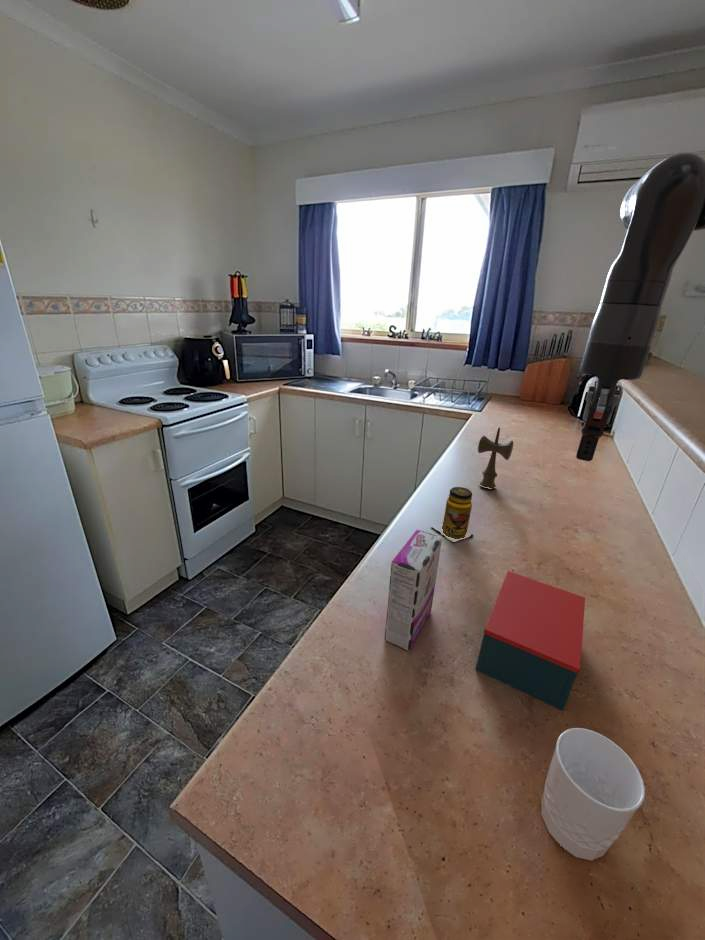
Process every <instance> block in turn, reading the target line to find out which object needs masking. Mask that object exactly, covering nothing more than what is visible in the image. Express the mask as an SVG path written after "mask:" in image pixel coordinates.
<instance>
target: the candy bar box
mask: <svg viewBox="0 0 705 940" xmlns="http://www.w3.org/2000/svg"><path fill="white" fill-rule="evenodd" d="M442 541H443V536H439V535H436V534H432V533H430V532H425V531H424V530H420V529H416V530H415V531H414V533H413V534H412V535H411V536H410V538H409V539H408V540H407V541H406V542H405V544H404V545H403V547H402V548H401V549H400V550H399V551H398V553H397V554H396V555H395V557H394V558H393V559H392V560H391V563H390V564H391V565H390V577H389V587H388V599H387V609H386V621H385V630H384V641H385V642H388V643H389V644H392V645H394V646H397V647H398V648H401V649H403V650H405V651H407V652H411V650H412V648H413V646H414V644H415V642H416V641H417V639H418V637H419V635H420V633H421V631H422V630H423V627H424V626H425V624H426V622H427V620H428V618H429V616H430V615H431V613H432V608H433V602H434V601H433V600H434V594H435V588H436V583H437V582H436V581H437V574H438V568H439V560H440V554H441V546H442Z"/></svg>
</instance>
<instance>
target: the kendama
mask: <svg viewBox="0 0 705 940" xmlns="http://www.w3.org/2000/svg"><path fill="white" fill-rule="evenodd" d="M500 433H501V427H498V428H497V431H496V435H495V439H494V441H492V440H490V439H489V438H488V437H487V436H486V435H482V436H481V438H480V439H479V442H478V445H477V452H478V454H483V453H486V452H491V454H490V458H489V460H488V462H487V465H486V468H485V470H483V471H482V473H481V474H482V480H481V481H480V482H479V483H480V485H482V486H484V487H489V488H494V487H496V488H497V485H496V483H495V479H496V478H497V477H498V473H497V472H496V461H497V454H499V455H500V456H502V458H503V459H504V460H506V461H508V460H510V458H511V456H512V453H513V449H514V441H513V440H509V441H506V442H501V443H500V442H499V439H500ZM480 485H479V486H480Z"/></svg>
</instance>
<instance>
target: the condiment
mask: <svg viewBox="0 0 705 940" xmlns="http://www.w3.org/2000/svg"><path fill="white" fill-rule="evenodd" d="M472 496H473V492H472V491H471V490H470V489H468V488H466V487H463V486H454V487H452V488H450V490H449V494H448V497H447V499H446V503H445V509H444V515H443V520H442V521H443V522H442V523H443V526H442V529H443V533H444V534H445V535H446V536H448V537H451V538H454V539H460V538H464V537H465V535H466V533H467V531H468V528H469V523H470V518H471V514H472V507H473V503H472V501H473V500H472V498H473V497H472Z"/></svg>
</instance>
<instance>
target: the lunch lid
mask: <svg viewBox="0 0 705 940" xmlns="http://www.w3.org/2000/svg"><path fill="white" fill-rule="evenodd" d="M585 603H586V597H585V596H582V595H579V594H576V593H573V592H570V591H568V590H565V589H562V588H559V587H556V586H553V585H550V584H548V583H544V582H543V581H539V580H536V579H533V578H529V577H527V576H525V575H521V574H519V573H516V572H513V571H509V570H507V571H506V574H505V576H504V579H503V582H502V584H501V586H500V589H499V592H498V594H497V597H496V599H495V601H494V605H493V607H492V609H491V612H490V614H489V617H488V619H487V622H486V625H485V628H484V631H483V635H484V634H486V635H489V636H491V637H493V638H496V639H498V640H500V641H503V642H505V643H507V644H510V645H512V646H515V647H517V648H519V649H522V650H524V651H526V652H529V653H531V654H533V655H536V656H538V657H540V658H543V659H545V660H547V661H550V662H552V663H554V664H557V665H559V666H561V667H564V668H566V669H568V670H571V671H573V672H575V673H577V675H578V674H579V673H580V672H581V663H582V649H583V648H582V647H583V635H584V634H583V633H584V621H585V607H586V606H585V605H586V604H585Z"/></svg>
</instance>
